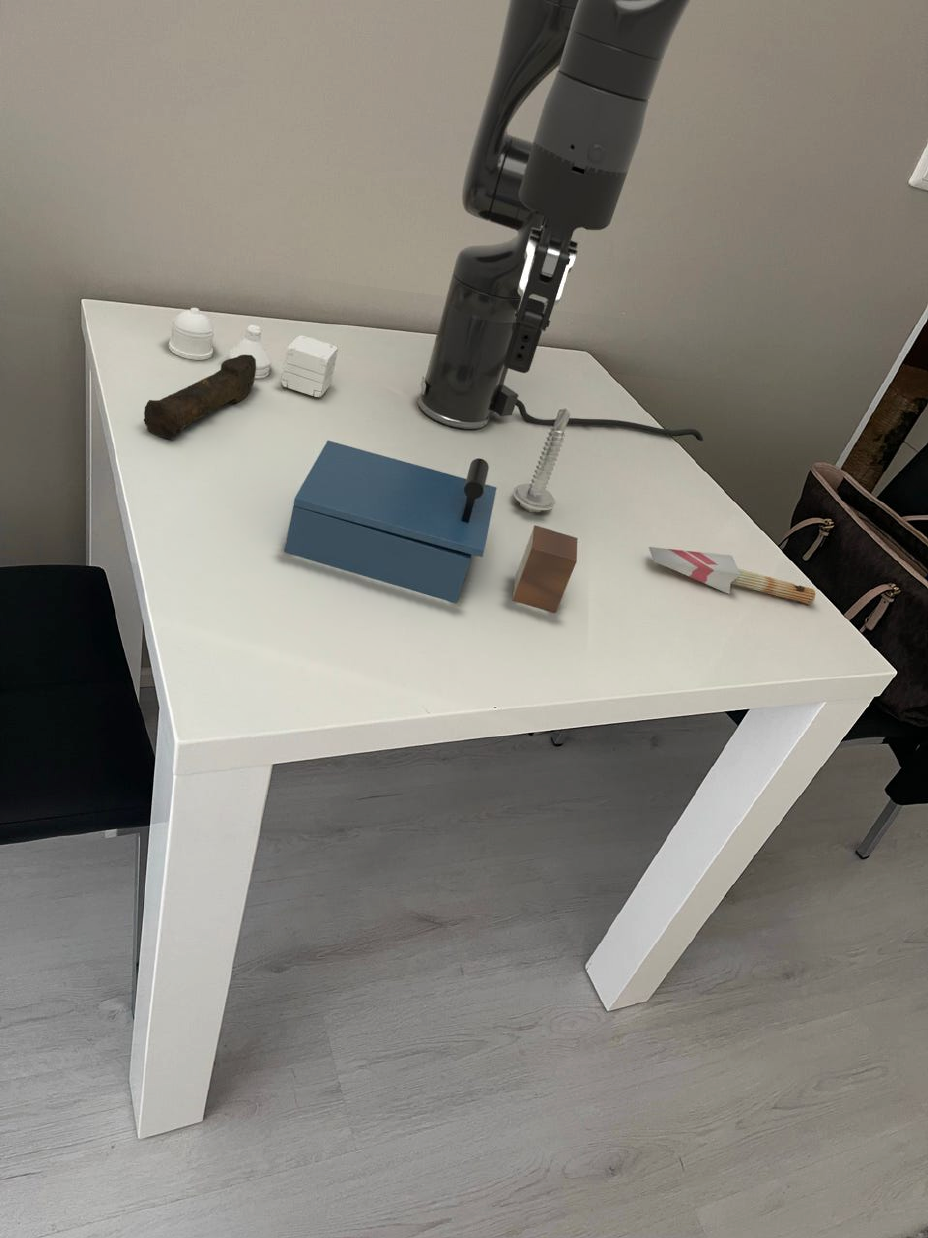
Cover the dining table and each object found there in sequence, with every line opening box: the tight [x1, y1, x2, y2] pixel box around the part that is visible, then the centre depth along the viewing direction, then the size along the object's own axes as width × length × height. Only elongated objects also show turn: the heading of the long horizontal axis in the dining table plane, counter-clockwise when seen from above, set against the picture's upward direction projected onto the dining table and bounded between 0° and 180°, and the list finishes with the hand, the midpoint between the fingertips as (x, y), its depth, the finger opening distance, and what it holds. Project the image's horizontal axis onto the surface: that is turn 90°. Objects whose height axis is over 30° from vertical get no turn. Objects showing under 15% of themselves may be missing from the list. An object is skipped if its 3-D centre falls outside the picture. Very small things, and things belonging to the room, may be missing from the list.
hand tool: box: [143, 355, 256, 439], centre depth 106 cm, size 19×4×5 cm, turn 156°
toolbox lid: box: [293, 440, 497, 558], centre depth 90 cm, size 18×13×5 cm
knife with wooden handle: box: [648, 546, 816, 605], centre depth 108 cm, size 4×3×20 cm
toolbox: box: [284, 505, 473, 604], centre depth 93 cm, size 17×13×6 cm
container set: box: [168, 307, 338, 398], centre depth 117 cm, size 20×5×6 cm, turn 80°
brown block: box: [511, 525, 578, 614], centre depth 93 cm, size 4×4×7 cm
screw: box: [512, 408, 571, 513], centre depth 106 cm, size 13×5×5 cm
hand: (518, 351), depth 82 cm, fingers open, 8 cm apart
